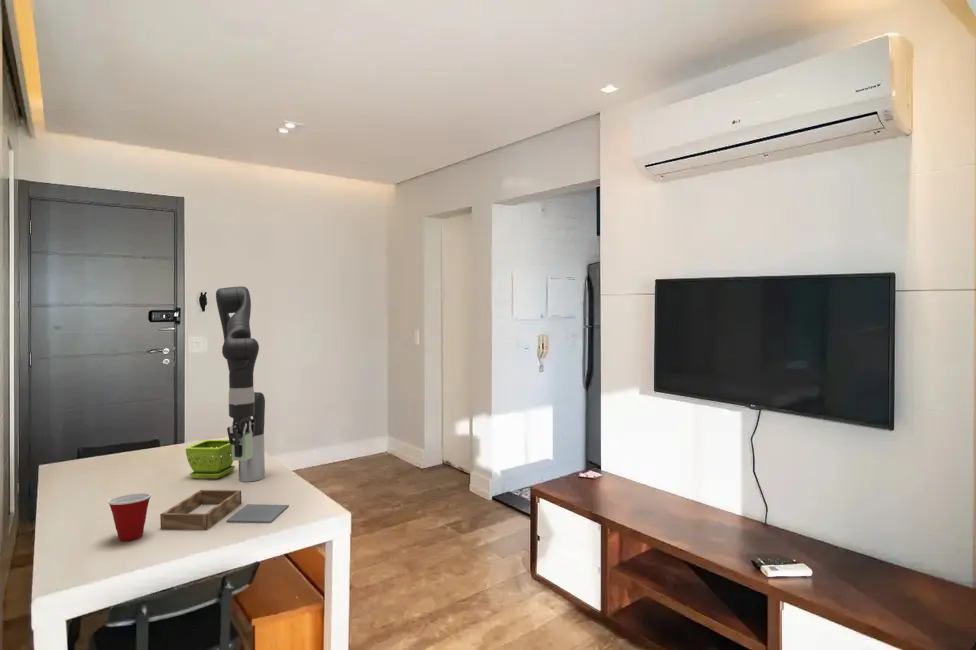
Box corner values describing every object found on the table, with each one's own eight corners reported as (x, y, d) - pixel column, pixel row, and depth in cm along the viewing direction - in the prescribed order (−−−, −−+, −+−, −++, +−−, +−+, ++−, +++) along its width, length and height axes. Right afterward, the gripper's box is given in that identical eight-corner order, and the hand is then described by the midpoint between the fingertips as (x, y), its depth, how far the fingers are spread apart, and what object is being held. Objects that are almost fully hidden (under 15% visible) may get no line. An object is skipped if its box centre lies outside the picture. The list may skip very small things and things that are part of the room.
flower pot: (239, 470, 228) (238, 439, 228) (219, 481, 214) (219, 448, 214) (206, 469, 230) (205, 438, 229) (184, 480, 216) (184, 447, 215)
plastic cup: (152, 527, 171) (151, 487, 171) (152, 540, 162) (151, 498, 161) (109, 534, 166) (108, 494, 165) (106, 548, 156) (105, 505, 156)
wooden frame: (200, 503, 192) (200, 489, 191) (241, 503, 191) (241, 490, 191) (160, 529, 170) (160, 514, 169) (206, 530, 169) (206, 515, 169)
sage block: (239, 456, 183) (238, 432, 182) (252, 456, 182) (252, 432, 182) (232, 460, 178) (231, 435, 178) (245, 460, 178) (245, 435, 177)
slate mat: (247, 505, 189) (247, 504, 189) (288, 506, 188) (288, 504, 188) (226, 522, 175) (226, 520, 175) (270, 523, 174) (270, 521, 174)
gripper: (241, 397, 187) (242, 448, 187) (217, 405, 173) (218, 460, 173) (263, 397, 186) (264, 449, 187) (241, 405, 172) (242, 461, 173)
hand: (242, 454), depth 180 cm, fingers closed on sage block, 4 cm apart
